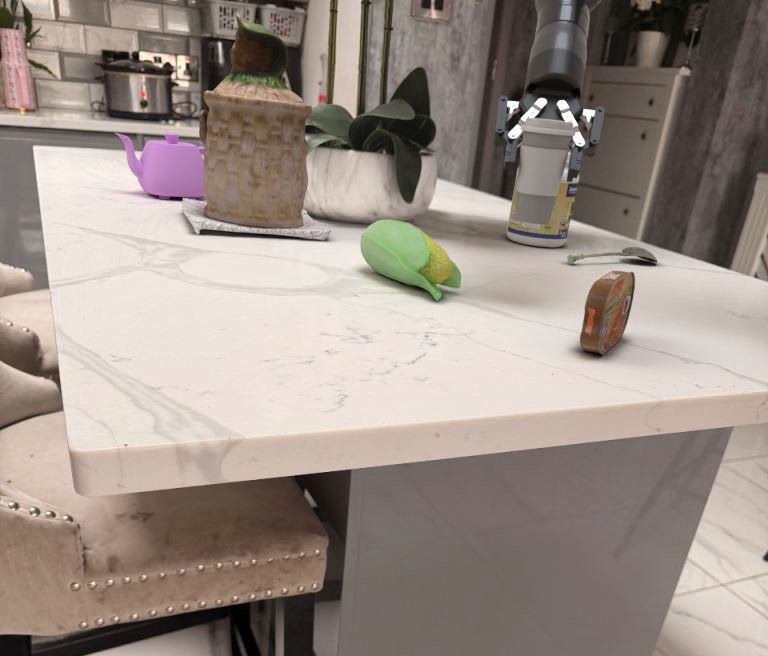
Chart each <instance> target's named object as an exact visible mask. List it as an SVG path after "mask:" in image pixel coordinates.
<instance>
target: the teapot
mask: <svg viewBox="0 0 768 656" xmlns="http://www.w3.org/2000/svg"><path fill="white" fill-rule="evenodd" d="M114 134H115V135H117V136H118V137H119V138H120V139H121V141H122V142H123V144H124V148H125V153H126V154H125V155H126V160H127V165H128V168H129V170H130V172H131V173H132V174H133V175H134V177H136V178H137V181H138V183H139V185H140V187H141V189H142V190H143V191H144V192H146V193H147V194H150V195H154V196H158V199H162V200H171V197H175V198H176V197H178V198H187V199H193V200H197V198H198V197H199V198H201V197H204V196H206V195H205V193H204V189H203V165H204V159H203V155H202V153H201V152H204V147H205V146H202V145H199V146H197V145H196V144H194V143H190V142H183V141H179V139H180V134H178V133H174V132H165V133H164V138H165V140H157V139H154V140H153V139H150V140H149V139H148V140H147V141H146V142H145V144H144V147H143V149H142V151H141V154H140V157H139V159H138V158H137V156H136V152H135V148H134V144H133V141H132V139H131V138H130V137H129V136H127V135H125V134H121V133H118V132H114Z"/></svg>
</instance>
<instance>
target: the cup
mask: <svg viewBox="0 0 768 656" xmlns="http://www.w3.org/2000/svg"><path fill="white" fill-rule="evenodd" d="M520 130H522V132H523V140H522V144H521V145H520V150H519V160H518V167H519V168H518V167H517V169H518V178H517V188H516V191H517V199H516V209H515V220H517V221H520V222H524V223H530V224H549V222H550V218H551V214H552V211H553V207H554V203H555V199H556V196H557V195H558V191H559V188H560V184H561V180H562V176H563V172H564V168H565V164H566V160H567V157H568V153H569V149H568V148H569V144H570V140H571V138H572V137H573V136H576V133H575V130H573V122H567V121H559V120H550V119H540V118H526V120H525V124H524V125H522V126H521V127H520Z"/></svg>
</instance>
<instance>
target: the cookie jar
mask: <svg viewBox="0 0 768 656" xmlns="http://www.w3.org/2000/svg"><path fill="white" fill-rule="evenodd" d="M235 19H236V22H237V30H236V32H235V33H234V34H235V35H234V38H235V41H234V43H233V45H232V46H231V50H232V53H231V57H232V62H233V64H232V65H231V66H232V67H231V70H230V72H229V74H228V75H227V76H225V78H224V79H223V80H222V81H220V83H219V84H217V86H216V87H215V88H214V89H213V90H205V91H204V92H203V100H204V102H205V104H206V105H207V107H208V110H207V109H203V110H200V113H199V117H198V119H199V120H198V123H199V124H198V125H199V129H198V137H199V141H200V142H201V143H202V144H203V145H204V146H203V147H204V151H203V155H202V158H203V160H204V165H203V189H204V193H205V195H204V196H205V198H206V201H204V200H203V201H201V200H198V199H196V200H193V199H187V198H185V197H182V202H181V208H182V211H183V212H182V213H183V215H184V216H185V217H186V218H187V220H188V222H189V223H190V224H191V226H192V228H193V230H194V232H195V234H196V235H199V234H200V233H201V232H200V231H201V230H211V231H212V230H213V231H221V232H222V231H223V232H233V233H247V234H248V233H249V234H264V235H265V234H266V235H276V236H278V235H279V236H286V237H297V238H301V239H307V240H320V241H325V240H326V239H327V237H328V236H329V235H330V233H331V228H330V227H327V226H326V225H324V224H322V223H321V222H320V221H317V220H315V219H313V218H312V217H311V216H310V215H309V214H308V212H307V210H305V209H304V206H305V205H304V204H305V203H304V202H305V200H306V199H305V198H306V193H307V189H308V186H309V173H308V168H307V155H308V154H307V153H308V146H307V140H306V124H307V120H308V118H309V117H310V116H311V114H312V112H313V106H312V105H311V104H310V103H307V102H306V103H305V102H304V100H303V99H302V97H300V95H298V94H296V93H295V92H293V91H292V90H291V89H290V88H289V86H288V85H287V84H286V82H285V81H284V80H283V76H284V75H285V72H286V71H287V67H288V63H289V52H288V47H287V45H286V43H285V42H284V41H283V40H282V39H281V38H280V36H279V35H278V34H276V33H275V32H273V31H271V30H270V29H269V28H268V27H266V26H264V25H263V24H260V23H255V22H254V23H253V22H246V21H244V20H243V19H242V17H241V15H240V14H237V13H236V15H235Z"/></svg>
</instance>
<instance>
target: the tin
mask: <svg viewBox="0 0 768 656" xmlns="http://www.w3.org/2000/svg"><path fill="white" fill-rule="evenodd" d="M635 288H636V275H635V272H634V271H623V270H610V271H609V272H608V273H606V274H605V275H603V276H602V277H600V278H599V279H596V280H595V281H594V282H593V284H592V285H591V287H590V289H589V291H588V294H587V297H586V300H585V305H584V315H583V320H582V326H581V328H582V329H581V332H580V335H579V345H580V348H581V350H583V351H586V352H590V353H596V354H600V355H601V356H604V355H606V353H607V352H609V350H611V349H612V348H613V347H614V346H615V345H616V344H617V343H618V342H619V341H620V340H621V339H622V337H623V335H624V333H625V331H626V328H627V325H628V321H629V319H630V314H631V310H632V305H633V302H634V301H633V300H634V295H635Z"/></svg>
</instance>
